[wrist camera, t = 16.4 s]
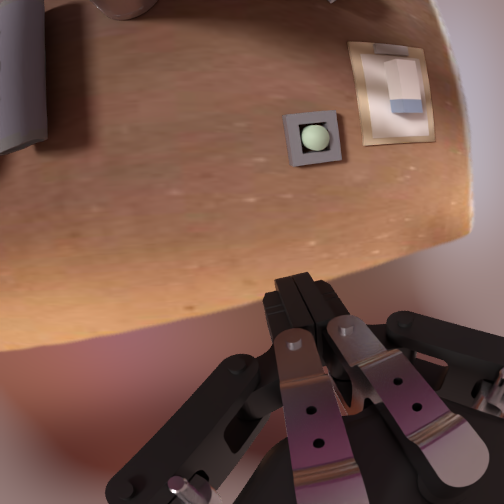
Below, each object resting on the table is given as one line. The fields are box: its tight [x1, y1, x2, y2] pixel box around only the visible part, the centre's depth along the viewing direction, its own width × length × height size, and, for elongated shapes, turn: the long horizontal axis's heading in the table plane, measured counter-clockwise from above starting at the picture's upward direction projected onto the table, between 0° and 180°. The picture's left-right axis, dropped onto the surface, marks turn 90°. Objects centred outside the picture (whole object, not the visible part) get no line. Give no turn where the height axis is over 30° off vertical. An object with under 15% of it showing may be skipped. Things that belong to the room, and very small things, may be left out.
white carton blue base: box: [384, 59, 423, 113], centre depth 35 cm, size 8×4×4 cm, turn 10°
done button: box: [300, 125, 329, 151], centre depth 38 cm, size 3×3×3 cm
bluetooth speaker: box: [0, 0, 48, 155], centre depth 25 cm, size 23×9×10 cm, turn 6°
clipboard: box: [347, 42, 435, 146], centre depth 37 cm, size 16×14×1 cm
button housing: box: [282, 110, 342, 167], centre depth 38 cm, size 7×7×2 cm
